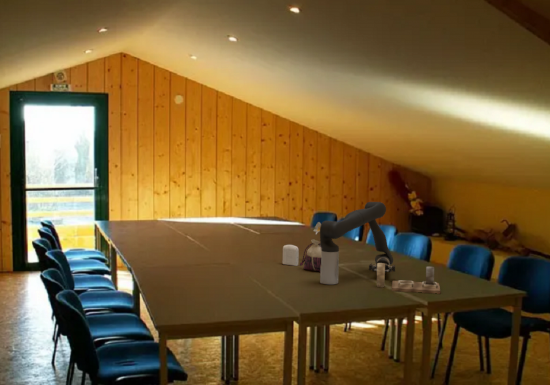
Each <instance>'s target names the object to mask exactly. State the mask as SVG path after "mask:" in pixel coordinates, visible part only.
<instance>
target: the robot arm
mask: <svg viewBox="0 0 550 385" xmlns="http://www.w3.org/2000/svg"><path fill="white" fill-rule="evenodd" d="M386 213H387V207H386V205H385V203H383V202H381V201H369V202H366V204H365V205H364V208H361V209H356V210H353V211H351V212H349V213H347V214H346V215H345V216H344V219H343V220H340V221H335V220H333V221H332V220H324V221H322V222H321V227H320V232H319V239H320V240H319V242H320V244H319V245H320V246H321V249H322V251H321V269H320V272H319V273H320V275H319V278H320V279H319V283H320V284H324V285H337V284H339V265H340V264H339V258H340V256H339V255H340V247H339V245H338V244H336V243H335V242H334V241H333V240H336V239H340V238H341V237H343V236H344V235H346V234H347V233H349V232H351V231H353V230H355V229H357V228H359V227H361V226H363V225H366V224H367V223H368V225H369V228H370V231H371V233H372V237H373V242H374V246H375V250H376V251H377V252H379V254H377V255H375V257H374V263H375V264H373V263H369V265H368V270H369V271H372V272H375V271H376V272H377V263H384V264H385V273H387V272H388V273H391V272H396V264H393V263H394V257H393V255H392V253H391V252H390V249H389V246H388V241H387V238H386V235H385V232H384V231H383V230H382V229H381V227H380V225H379V224H378V222H377V219H381V218H382V217H383V216H384V215H385V214H386ZM380 252H381V253H382V254H381V253H380ZM392 264H393V265H392Z"/></svg>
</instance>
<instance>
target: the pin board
mask: <svg viewBox="0 0 550 385" xmlns="http://www.w3.org/2000/svg"><path fill="white" fill-rule="evenodd" d="M425 269H426V270H425V281H422V282H421V281H413V280H404V279H403V280H400V279H399V280H392V283H391V292H405V293H418V292H422V293H421V294H423V293H424V294H435V293H437V294H439V295H440V294H441V287H440V283H439V282H437V281H435V267H434V266H425Z"/></svg>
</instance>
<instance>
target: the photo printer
mask: <svg viewBox="0 0 550 385" xmlns="http://www.w3.org/2000/svg"><path fill="white" fill-rule="evenodd" d="M299 251H300V250H299V247H298V246H296V245H294V244H285V245H283V246H282V265H286V266H287V265H288V266H293V267H294V266H295V267H297V266H299V255H300V254H299Z"/></svg>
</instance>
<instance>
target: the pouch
mask: <svg viewBox="0 0 550 385" xmlns="http://www.w3.org/2000/svg"><path fill="white" fill-rule="evenodd" d="M310 241H311V243H310V244H308V245H307V247H306V248H305V249H304V251H303V255H302V260H301V262H300V263H299V264H298V266H300V267H302V266H303V270H307V271H312V272H313V271H314V272H319V273H320V269H321V251H322V249H321V245H320V240H316V239H315V238H313V239H311V240H310Z"/></svg>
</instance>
